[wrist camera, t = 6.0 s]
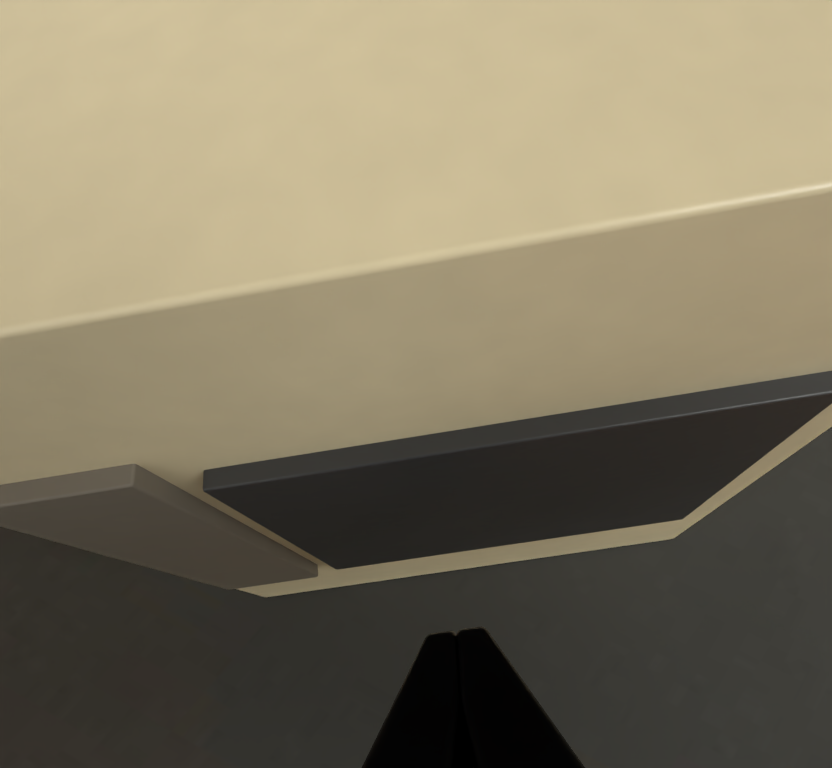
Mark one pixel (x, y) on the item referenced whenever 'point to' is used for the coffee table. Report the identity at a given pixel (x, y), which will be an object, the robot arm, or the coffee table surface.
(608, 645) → the coffee table surface
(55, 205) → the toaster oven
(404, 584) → the coffee table surface
